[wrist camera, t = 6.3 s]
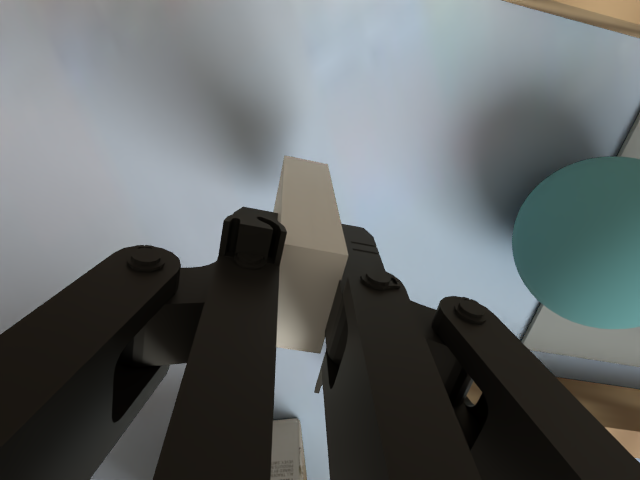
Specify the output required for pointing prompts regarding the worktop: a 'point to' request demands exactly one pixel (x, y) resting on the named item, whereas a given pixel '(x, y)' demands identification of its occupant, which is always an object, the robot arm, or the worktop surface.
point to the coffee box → (287, 451)
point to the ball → (584, 242)
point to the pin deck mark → (579, 339)
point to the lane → (599, 399)
